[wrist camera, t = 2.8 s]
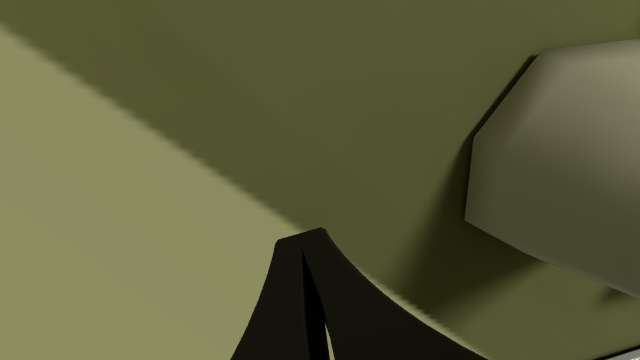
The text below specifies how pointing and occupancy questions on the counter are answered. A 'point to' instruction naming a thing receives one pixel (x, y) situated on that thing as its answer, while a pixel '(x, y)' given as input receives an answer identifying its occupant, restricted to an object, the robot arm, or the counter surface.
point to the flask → (566, 164)
